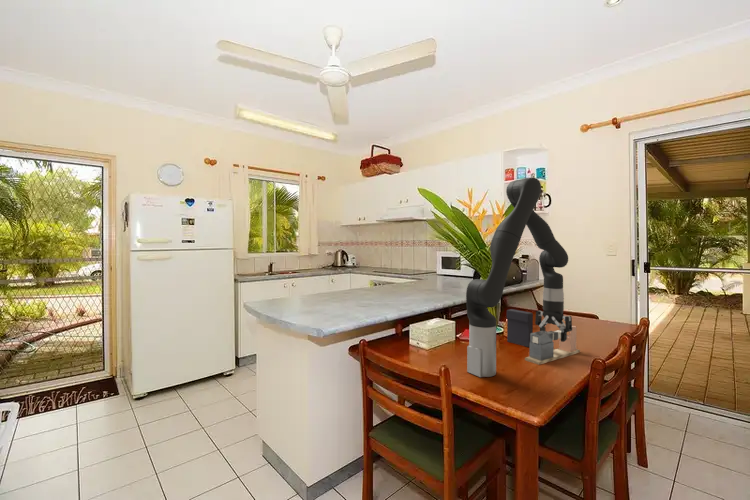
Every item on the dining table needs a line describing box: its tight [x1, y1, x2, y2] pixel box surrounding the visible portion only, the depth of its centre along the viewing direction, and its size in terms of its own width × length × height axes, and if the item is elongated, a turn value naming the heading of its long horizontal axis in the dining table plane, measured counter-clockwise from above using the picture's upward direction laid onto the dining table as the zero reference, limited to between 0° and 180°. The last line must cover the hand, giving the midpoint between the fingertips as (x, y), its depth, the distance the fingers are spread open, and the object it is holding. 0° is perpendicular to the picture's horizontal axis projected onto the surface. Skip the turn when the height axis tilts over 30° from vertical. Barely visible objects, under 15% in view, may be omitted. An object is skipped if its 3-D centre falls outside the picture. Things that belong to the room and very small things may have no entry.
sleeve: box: [528, 330, 555, 361], centre depth 139 cm, size 8×5×10 cm, turn 121°
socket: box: [558, 325, 577, 352], centre depth 148 cm, size 4×5×10 cm
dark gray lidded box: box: [506, 308, 534, 348], centre depth 160 cm, size 11×4×15 cm, turn 34°
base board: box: [524, 347, 581, 366], centre depth 143 cm, size 28×6×1 cm, turn 121°
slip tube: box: [532, 329, 561, 344], centre depth 141 cm, size 17×3×3 cm, turn 121°
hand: (552, 338), depth 142 cm, fingers open, 8 cm apart
